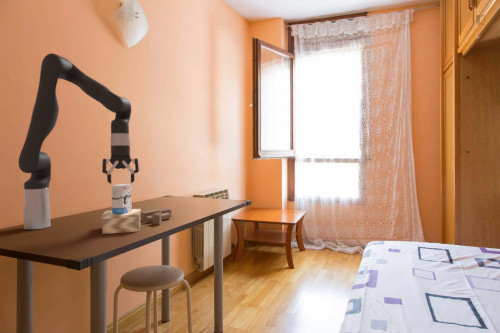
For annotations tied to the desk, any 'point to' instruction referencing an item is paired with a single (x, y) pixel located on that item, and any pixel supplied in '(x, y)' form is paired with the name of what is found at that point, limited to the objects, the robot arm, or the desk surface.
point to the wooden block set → (156, 215)
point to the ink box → (121, 198)
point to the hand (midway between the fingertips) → (121, 183)
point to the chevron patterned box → (121, 222)
